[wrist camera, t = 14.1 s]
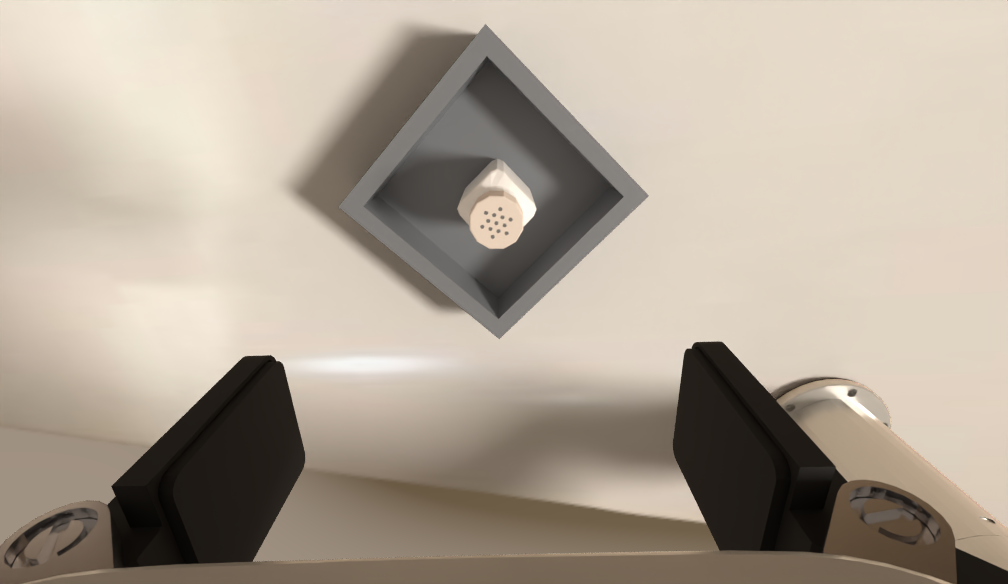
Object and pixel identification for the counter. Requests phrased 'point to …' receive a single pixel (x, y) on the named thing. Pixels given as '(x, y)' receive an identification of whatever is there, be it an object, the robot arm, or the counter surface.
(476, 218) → the pepper shaker
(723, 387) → the robot arm
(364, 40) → the counter surface
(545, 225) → the bin
